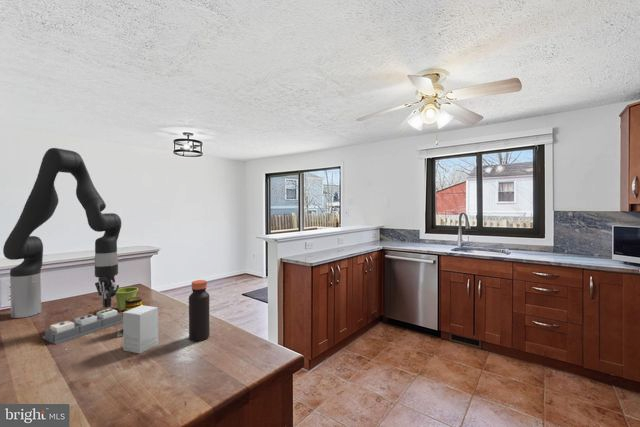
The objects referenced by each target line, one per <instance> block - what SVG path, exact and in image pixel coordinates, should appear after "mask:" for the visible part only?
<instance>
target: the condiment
mask: <svg viewBox="0 0 640 427" xmlns="http://www.w3.org/2000/svg"><path fill="white" fill-rule="evenodd" d="M125 303H126V304H125V308H124V310H123V312H125V311H128V310H131V309H133V308H136V307H139V306H142V305H143V298H142V297H140V296H136V297H133V298H129V299H127V300H126V301H125ZM116 332H117V336H116V337H117V338H118V337H123V328H117V331H116Z"/></svg>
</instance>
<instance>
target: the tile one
mask: <svg viewBox="0 0 640 427" xmlns="http://www.w3.org/2000/svg"><path fill="white" fill-rule="evenodd" d="M73 322H74V321H71V320H64V321H61V322H58V323H57V322H56V323H54V324H51V325H49V329H50V331H52V332H54V333H59V332H62V331H66V330H69V329H72V328H74V323H73Z"/></svg>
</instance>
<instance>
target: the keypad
mask: <svg viewBox="0 0 640 427" xmlns="http://www.w3.org/2000/svg"><path fill="white" fill-rule="evenodd" d="M95 316H97V314H96V315H95ZM72 322H73V323H74V328H72V329H69V330H66V331H62V332H59V333H54V332H52V331H50V328H48V329H45V330H44V335H43V336H42V337H41V338H42V339H43V340H46V341H47V342H49V343H51V344H54V345H60V344H62V343H65V342H67V341H70V340H74V339H76V338H80V337H82V336H85V335H89V334H92V333H94V332H95V333H96V332H98V331H101V330H103V329H106V328H108V329H109V328H110V327H113V326H116V325H120V324H123V313H119V312H117V315H115V316H112V317H109V318H105V319H101V318H98V317H97V321H95V322H92V323H89V324H85V325H82V326H80V325H77V324H75V321H72Z"/></svg>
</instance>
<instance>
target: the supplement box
mask: <svg viewBox="0 0 640 427" xmlns="http://www.w3.org/2000/svg"><path fill="white" fill-rule="evenodd" d="M122 320H123V323H122V329H123V336H122V337H123V338H122V339H123V341H122V342H123V344H122V345H123V351H126V352H130V353H135V354H142V353H145V352H146V351H149V350H150V349H153V347H156V346H158V345H159V307H156V306H149V305H144V304H142V306H139V307H136V308H133V309H131V310H128V311H125V312H124V311H123V312H122Z"/></svg>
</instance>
